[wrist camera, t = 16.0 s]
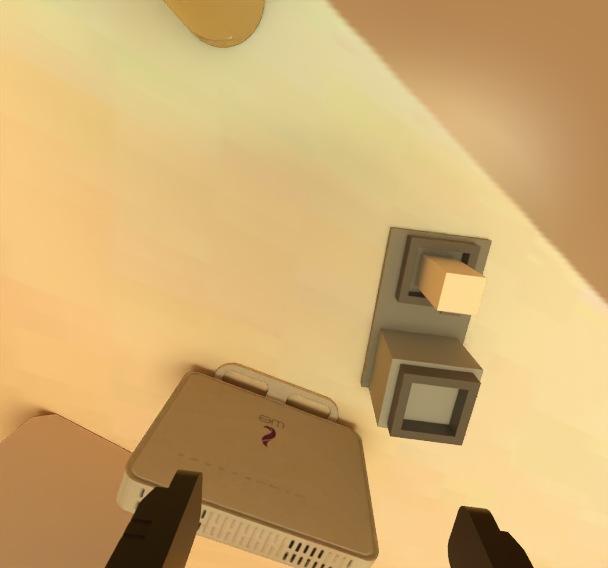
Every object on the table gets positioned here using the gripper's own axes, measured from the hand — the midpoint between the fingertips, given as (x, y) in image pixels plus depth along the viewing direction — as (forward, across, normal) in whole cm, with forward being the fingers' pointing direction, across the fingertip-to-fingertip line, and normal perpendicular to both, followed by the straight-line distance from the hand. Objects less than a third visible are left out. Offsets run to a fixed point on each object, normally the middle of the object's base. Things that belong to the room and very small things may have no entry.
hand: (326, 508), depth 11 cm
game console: (+36, +27, +37) cm, 59 cm away
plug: (+35, -14, 0) cm, 38 cm away
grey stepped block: (+36, -14, +7) cm, 39 cm away
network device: (+36, +4, +23) cm, 43 cm away
